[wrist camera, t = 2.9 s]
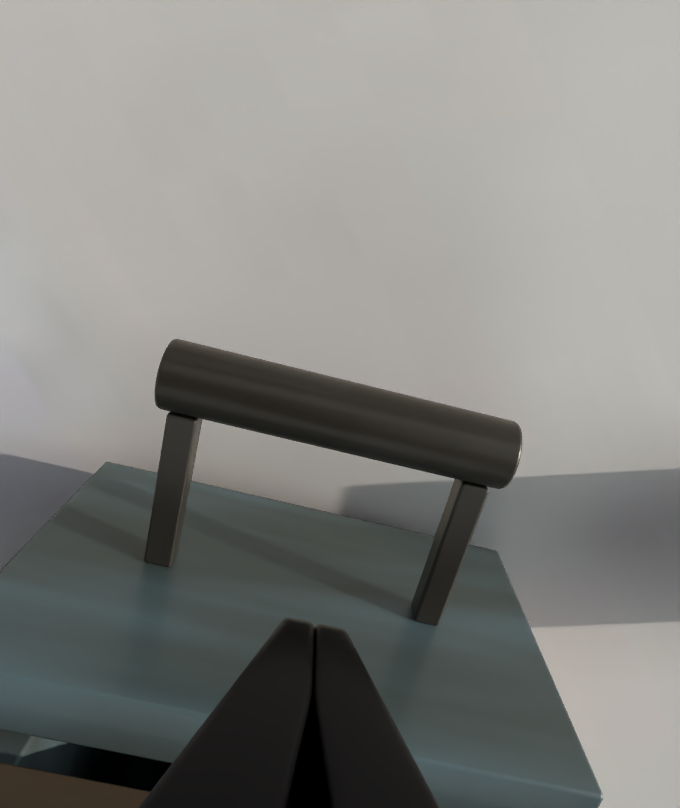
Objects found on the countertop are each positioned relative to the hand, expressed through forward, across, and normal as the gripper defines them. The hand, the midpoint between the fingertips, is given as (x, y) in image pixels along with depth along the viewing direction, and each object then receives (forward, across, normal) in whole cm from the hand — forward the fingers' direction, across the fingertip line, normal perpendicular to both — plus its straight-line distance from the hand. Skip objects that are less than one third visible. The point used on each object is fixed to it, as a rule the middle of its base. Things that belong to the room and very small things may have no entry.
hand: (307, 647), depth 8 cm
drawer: (+8, 0, +7) cm, 11 cm away
